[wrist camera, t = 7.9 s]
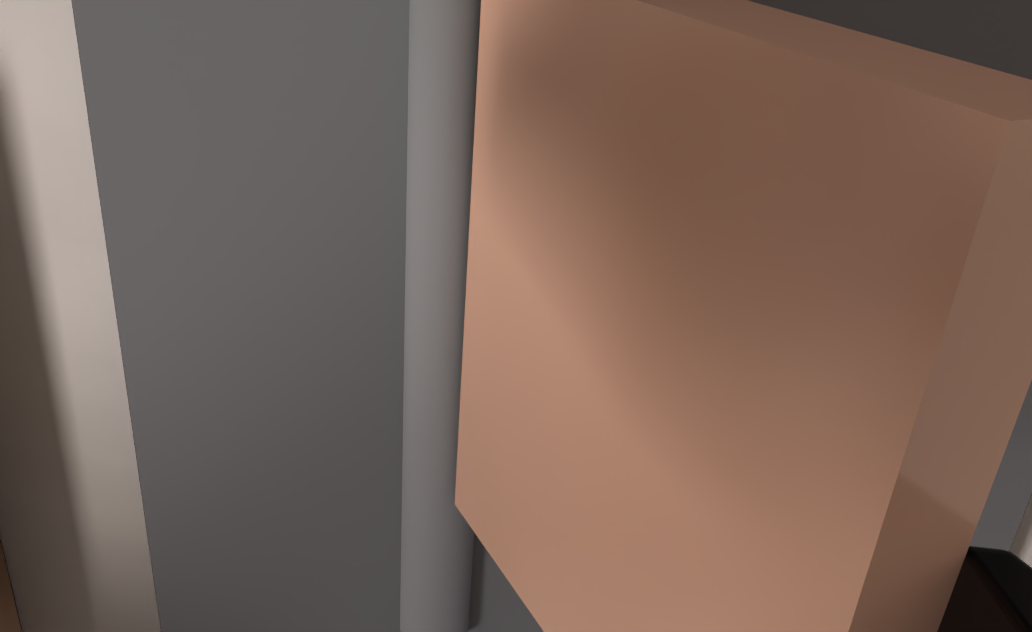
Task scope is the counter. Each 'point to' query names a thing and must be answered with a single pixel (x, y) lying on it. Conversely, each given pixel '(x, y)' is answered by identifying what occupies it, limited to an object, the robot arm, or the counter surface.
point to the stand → (7, 601)
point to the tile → (737, 315)
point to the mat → (339, 295)
